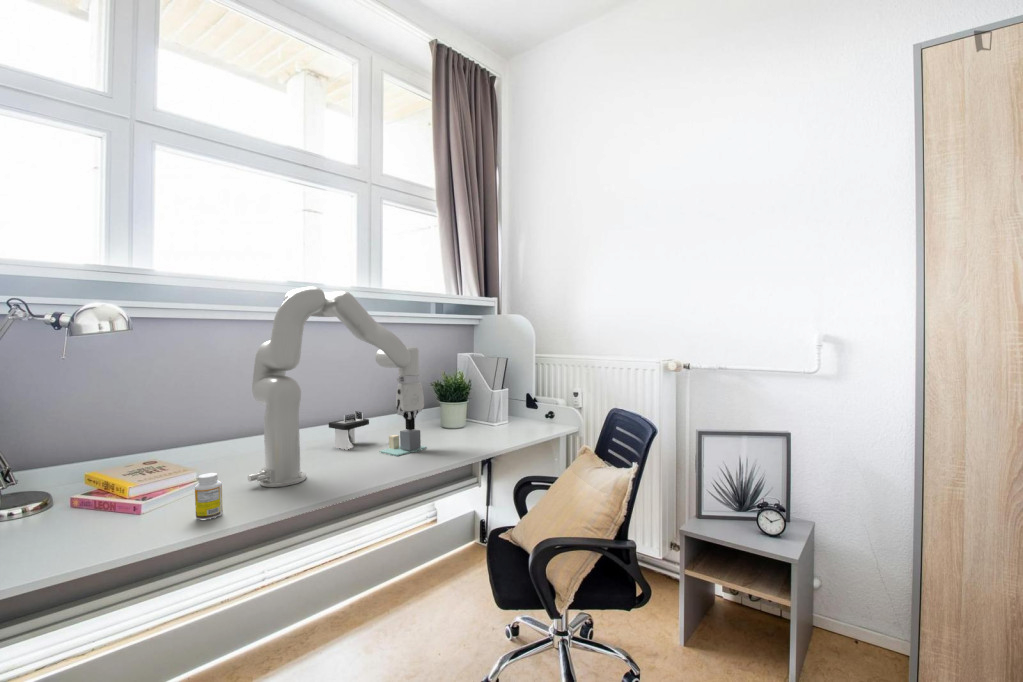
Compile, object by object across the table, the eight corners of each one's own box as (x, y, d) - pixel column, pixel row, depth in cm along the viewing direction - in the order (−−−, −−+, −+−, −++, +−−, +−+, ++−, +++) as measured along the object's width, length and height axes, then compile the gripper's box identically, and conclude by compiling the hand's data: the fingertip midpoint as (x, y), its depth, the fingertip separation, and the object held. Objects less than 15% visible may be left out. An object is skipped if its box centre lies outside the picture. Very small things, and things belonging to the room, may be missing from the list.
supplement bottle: (205, 512, 120) (204, 471, 120) (227, 512, 120) (226, 471, 120) (190, 521, 115) (188, 478, 114) (213, 521, 115) (212, 478, 114)
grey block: (409, 450, 175) (409, 432, 175) (400, 448, 179) (400, 431, 179) (420, 447, 180) (420, 430, 179) (411, 446, 183) (410, 428, 183)
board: (397, 456, 172) (396, 441, 172) (378, 452, 178) (378, 438, 178) (426, 448, 183) (426, 434, 183) (408, 444, 189) (408, 431, 189)
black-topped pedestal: (341, 460, 169) (340, 422, 169) (298, 450, 184) (297, 415, 184) (401, 444, 192) (400, 410, 192) (359, 436, 207) (358, 405, 207)
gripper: (399, 382, 170) (400, 434, 171) (431, 378, 182) (432, 427, 183) (386, 381, 175) (387, 431, 175) (417, 377, 187) (418, 425, 187)
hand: (410, 429), depth 179 cm, fingers closed
